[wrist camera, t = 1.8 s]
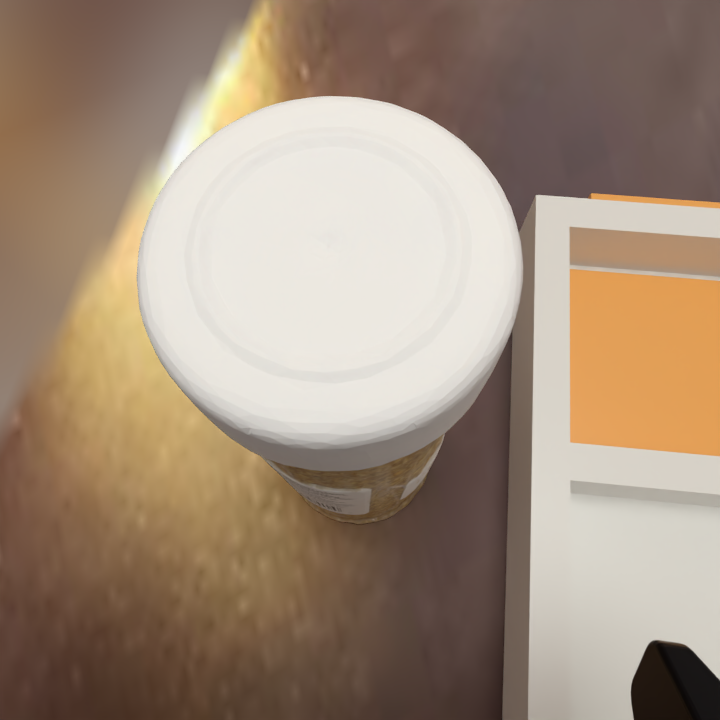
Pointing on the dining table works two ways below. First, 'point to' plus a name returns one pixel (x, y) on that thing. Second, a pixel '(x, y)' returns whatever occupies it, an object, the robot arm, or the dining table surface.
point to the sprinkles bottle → (332, 292)
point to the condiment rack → (611, 451)
